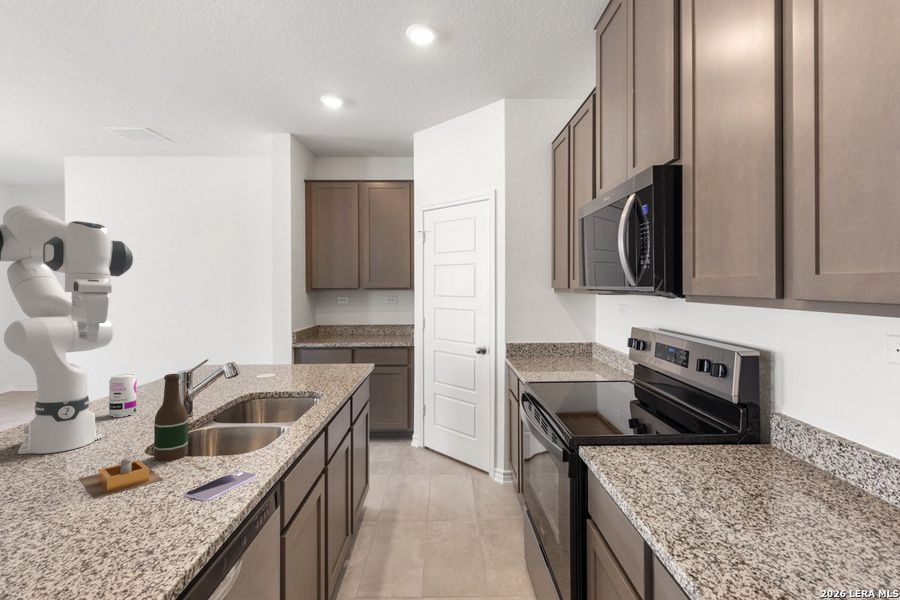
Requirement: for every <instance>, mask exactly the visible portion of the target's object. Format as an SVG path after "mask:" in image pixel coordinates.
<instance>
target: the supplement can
mask: <svg viewBox="0 0 900 600" xmlns="http://www.w3.org/2000/svg"><path fill="white" fill-rule="evenodd" d="M137 381H138V380H137V376H135V374H133V373H125V374H116V375H112V376H111V378H110V379H109V383H108V385H109V387H108V389H109V391H108V392H109V394H108V395H109V397H108V398H109V399H108V400H109V401H108V405H109V406H108V409H109V410H108V416H109V417H111V416H114V417H121V416H128V415H132V414H134V415H135V414H136V413H137V389H138V388H137ZM132 416H133V415H132ZM128 417H129V416H128ZM121 418H122V417H121Z"/></svg>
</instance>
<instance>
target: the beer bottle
mask: <svg viewBox="0 0 900 600" xmlns="http://www.w3.org/2000/svg"><path fill="white" fill-rule="evenodd" d="M180 379H181V376H180V374H178V373H169V374H165V375H164V377H163V380H164V389H163V390H164V391H163V399H162V405H160V407H159V408H158V410H157V412H156V414H155V416H154V422H153V423H154V424H153V425H154V428H153V429H154V430H153V431H154V432H153V433H154V437H153V440H154V441H153V445H154V446H153V459H154V460H155V461H158V462H172V461H174V460H175V461H176V460H179V459H183V458H184V457H185V456H187V455H188V454H189V453H188V452H189V413H188V411H187V409H186V407H185V406H184V405H183V403H182V401H181V392H180Z"/></svg>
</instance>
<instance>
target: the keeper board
mask: <svg viewBox="0 0 900 600" xmlns="http://www.w3.org/2000/svg"><path fill="white" fill-rule="evenodd" d="M131 462H132V459H131V458H129V457H126V458H123V459H122V460H121V461H120V464H121V474H123V473H127V472H131ZM142 463H143V464H145V463H144V462H142ZM146 466H147V467H148V468H149V481H147V482H143V483H140V484H136V485H132V486H129V487H125V488H121V489H118V490H114V491H110V492H106V491H105V490H104V488H103V487H102V486H101V485H100V484H99V483H98V473H95V474H93V475H88V476H84V477H79V478H78V480H79V481H80V483H82V486H84V488H85V489H86V491H87V492H88V493H89V494H90V496H91V497H92V498H93V499H94V500H97V499H101V498H105V497H108V496H111V495H114V494H119V493H122V492H126V491H129V490H133V489H137V488H140V487H144V486H148V485H151V484H154V483H159V482H162V481H164V479H163V478H162V477H161V475H159V474H157V473H156V472H155V471H154V470H152V469H151V468H150V467H149V466H148V465H146Z"/></svg>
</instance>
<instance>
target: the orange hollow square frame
mask: <svg viewBox="0 0 900 600" xmlns="http://www.w3.org/2000/svg"><path fill="white" fill-rule="evenodd" d="M143 463H144V462H143V461H141V460H140V459H136V460H133V461H132V460H131V472H127V473H123V474H121V463H120V464H115V465H112V466H107V467H103V468H99V469H97V474H98V483H99V484H100V485H101V486H102V487H103V488H104V490H105V491H106V492H110V491H114V490H118V489H121V488H125V487H129V486H132V485H136V484H140V483H143V482H147V481H149V468H150V467H149V466H148V465H146V464H145V463H144V464H143ZM147 466H148V467H149V468H148V467H147Z"/></svg>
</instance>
